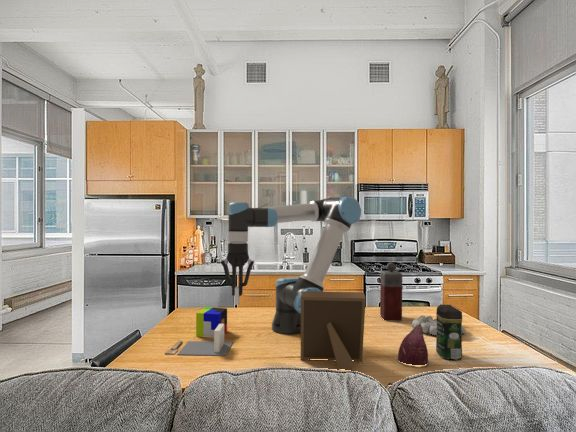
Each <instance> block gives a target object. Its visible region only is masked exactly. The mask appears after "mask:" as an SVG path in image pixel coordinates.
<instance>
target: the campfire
mask: <svg viewBox="0 0 576 432" xmlns="http://www.w3.org/2000/svg"><path fill="white" fill-rule="evenodd" d="M419 324H421V326H422V331H423V334H428V333H429V335H431V334H432V335H431V336H433V335H434V336H435V335H437V317H436V318H433V316H432V315H428V316H425V315H420V316H419V317H418V318H415V319H413V320H412V322H411V328H412V329H414V328H415V327H416V326H417V325H419ZM461 332H462V333H465V334H466V333H467V330H466V329H465V327H464V326H463V325H462V327H461Z"/></svg>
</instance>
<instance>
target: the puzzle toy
mask: <svg viewBox="0 0 576 432" xmlns="http://www.w3.org/2000/svg"><path fill="white" fill-rule="evenodd" d="M195 315H196V316H195V317H196V318H195V324H196V325H195V332H196V333H195V337H197V338H198V337H201V338H213V339H214V330H215V329H216V328H217V326H218V325H219V324H224V334H225V333H227V331H228V308H227V307H214V306H213V307H212V306H211V307H209V306H205V307H203V308H202V309H201V310H199V311H197V312H196V313H195Z"/></svg>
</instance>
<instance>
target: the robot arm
mask: <svg viewBox="0 0 576 432" xmlns="http://www.w3.org/2000/svg"><path fill="white" fill-rule="evenodd" d="M227 213H228V214H227V216H228V217H227V218H228V219H227V220H228V221H227V222H228V233H227V234H228V236H227V241H228V242H229V243H228V244H227V255H226V258H225V259H222V260H220V264H221V266H222V267H223V271H224V276H225V281H226V285H227V286H228V287H231V294H232V296H234V306H238V305H240V299H241V297H242V296H243V294H244V293H243V289H244V287H246V286H247V285H248V282H249V279H250V276H251V275H250V274H251V272H252V267H253V265H254V264H255V260H252V258H250V255H249V254H248V253H249V245H248V243H247V242H249V228H273V227H275V226H277V224H281V223H290V222H301V221H302V222H303V221H311V222H324V223H325V227H324V229H323V231H322V233H321V235H320V238H319V239H318V242H317V244H316V247H315V249H314V250H313V254H312V255H311V258H310V260H309V262H308V264H307V267H306V268H305V271H304V273H303V274H302V275H299V276H298V277H282V278H278V279H277V280H276V283H275V313H274V317H273V320H272V323H271V330H272V331H273V332H275V333H278V334H284V335H293V334H299V333H300V334H301V291H315V292H324V289H325V287H324V283H323V282H324V280H325V278H326V276H327V273H328V271H329V269H330V266H331V264H332V262H333V260H334V258H335V255H336V253H337V250H338V247H339V246H340V243H341V241H342V238H343V236H344V234H345V233H348V232H349V231H350V229H351V227H352V225H353V224H356V223H357V222H359V221H360V219H361V216H362V207H361V205H360V203H359V201H358V200H357V199H356V198H354V197H352V196H335V197H328V198H323V199H318V200H312V201H309V202H308V203H299V204H298V203H297V204H287V205H274V206H273V205H272V206H263V207H250V206H249V203H248V202H243V201H242V202H240V201H239V202H238V201H237V202H235V201H234V202H230V203H229V205H228V212H227ZM228 263H229V264H230V266H231V275H230V270H229V266H228ZM246 263H247V265H248V266H247V269H246V271H245V272H246V273H245V277H244V266H245V265H246ZM237 267H238V286H237Z"/></svg>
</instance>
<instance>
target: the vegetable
mask: <svg viewBox="0 0 576 432" xmlns="http://www.w3.org/2000/svg"><path fill="white" fill-rule="evenodd" d="M427 346H428V345H427V344H426V341H425V337H424V332H423V331H422V326H421V324H419V325H417V326H416V327H415V328H412V330H410V332H408V334H406V335H405V336H404V338H403V340H402V341H401V343H400V345H399V349H398V354H397V361H398V360H399V361H400V362H403V363H406V364H412V365H425V364H427V363H428V364H429V351H428V347H427Z"/></svg>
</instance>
